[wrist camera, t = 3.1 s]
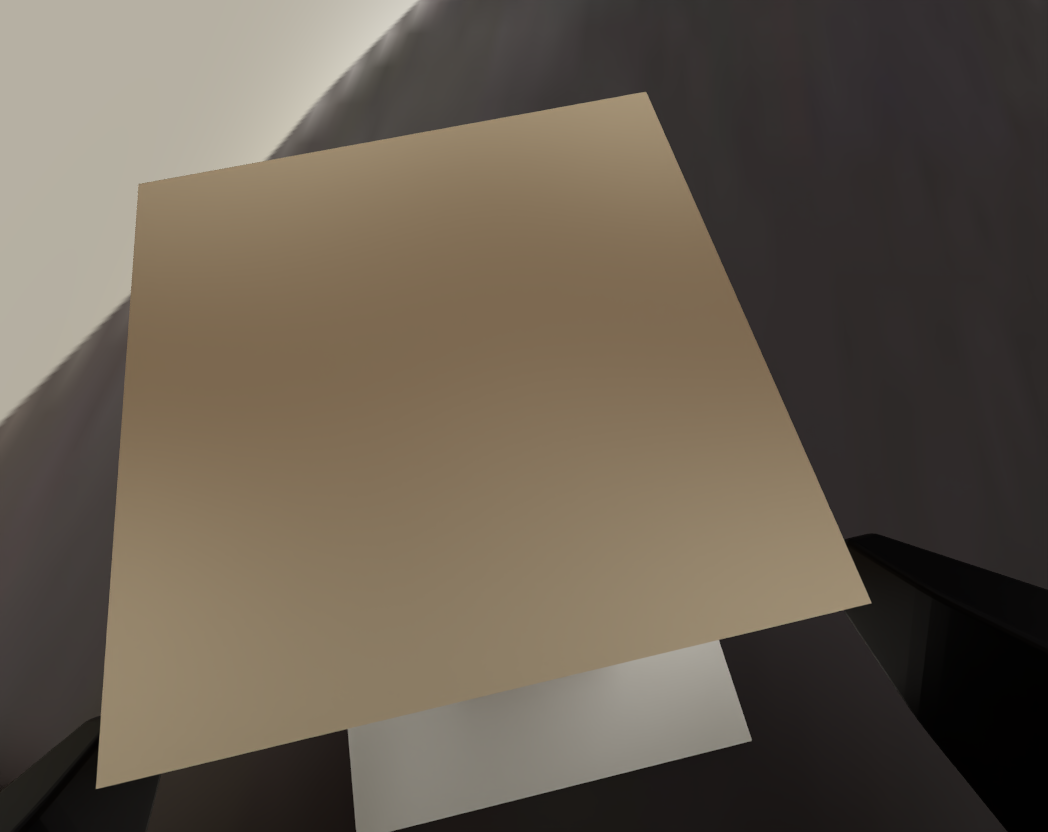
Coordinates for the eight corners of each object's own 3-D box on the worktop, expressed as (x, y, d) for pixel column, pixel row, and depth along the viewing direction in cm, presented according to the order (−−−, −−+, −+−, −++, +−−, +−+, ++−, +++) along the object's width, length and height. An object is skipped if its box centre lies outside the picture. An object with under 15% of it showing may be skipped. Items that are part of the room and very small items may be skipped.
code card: (748, 739, 15) (752, 740, 14) (360, 836, 14) (356, 839, 14) (635, 395, 19) (636, 391, 18) (328, 460, 18) (324, 457, 18)
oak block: (616, 650, 15) (873, 602, 3) (450, 690, 15) (95, 789, 3) (574, 491, 17) (646, 92, 5) (425, 523, 17) (139, 183, 5)
